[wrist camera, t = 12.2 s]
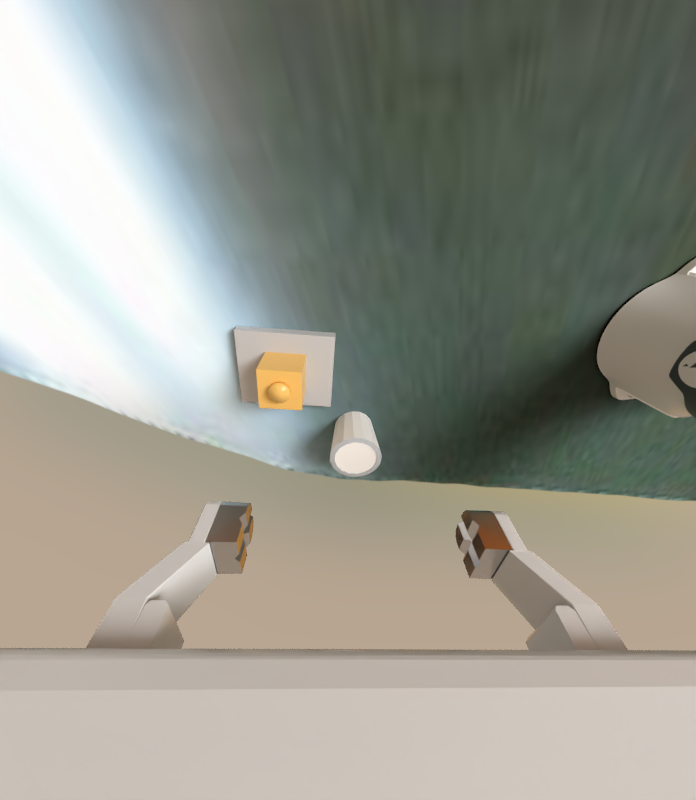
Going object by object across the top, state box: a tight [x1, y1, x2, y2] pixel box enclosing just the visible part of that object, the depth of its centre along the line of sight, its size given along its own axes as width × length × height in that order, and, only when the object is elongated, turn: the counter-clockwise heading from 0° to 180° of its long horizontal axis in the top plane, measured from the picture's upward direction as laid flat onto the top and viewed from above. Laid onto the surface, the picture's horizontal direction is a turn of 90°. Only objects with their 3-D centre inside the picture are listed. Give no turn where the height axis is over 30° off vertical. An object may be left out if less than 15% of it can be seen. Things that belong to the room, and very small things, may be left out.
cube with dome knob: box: [256, 352, 306, 410], centre depth 36 cm, size 5×5×6 cm
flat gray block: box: [234, 326, 335, 407], centre depth 38 cm, size 12×10×5 cm
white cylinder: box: [330, 411, 382, 477], centre depth 43 cm, size 7×7×7 cm
